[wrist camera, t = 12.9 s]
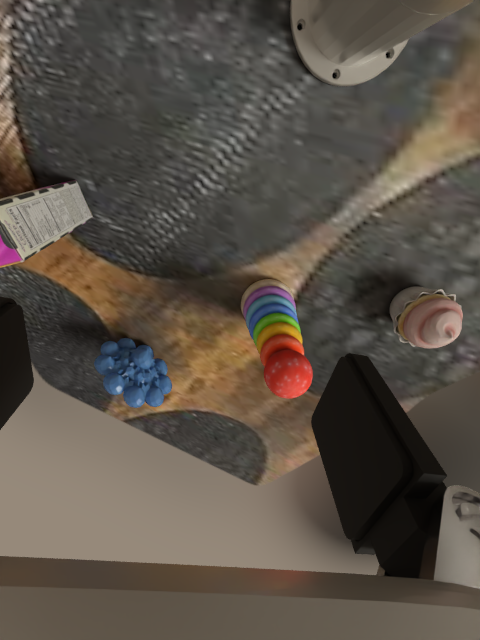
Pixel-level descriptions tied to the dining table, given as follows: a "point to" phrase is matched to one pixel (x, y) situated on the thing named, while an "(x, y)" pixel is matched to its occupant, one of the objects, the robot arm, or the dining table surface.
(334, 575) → the robot arm
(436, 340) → the cupcake
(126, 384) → the grapes
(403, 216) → the dining table surface
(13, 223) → the candy bar box
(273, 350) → the stacking toy
